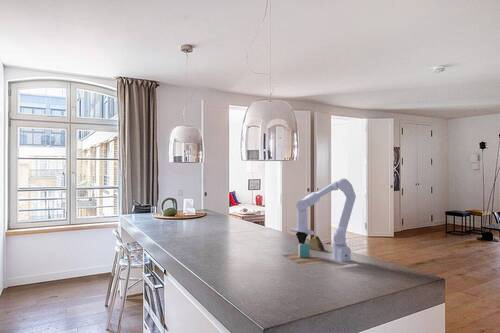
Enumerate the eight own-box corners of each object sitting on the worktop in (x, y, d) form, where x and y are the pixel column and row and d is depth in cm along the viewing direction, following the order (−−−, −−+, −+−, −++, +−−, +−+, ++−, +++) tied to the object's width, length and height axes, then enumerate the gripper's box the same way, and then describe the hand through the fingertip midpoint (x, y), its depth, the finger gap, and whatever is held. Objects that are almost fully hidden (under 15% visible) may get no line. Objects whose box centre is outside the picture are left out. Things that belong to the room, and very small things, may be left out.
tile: (309, 256, 181) (309, 243, 181) (300, 257, 179) (300, 244, 179) (307, 255, 183) (307, 243, 183) (298, 256, 181) (298, 243, 181)
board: (328, 264, 170) (328, 262, 170) (301, 267, 164) (301, 265, 164) (305, 254, 191) (305, 252, 191) (280, 256, 185) (280, 254, 185)
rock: (301, 246, 201) (310, 247, 192) (307, 234, 204) (316, 234, 195) (314, 255, 204) (323, 257, 195) (320, 243, 207) (329, 245, 198)
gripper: (317, 222, 181) (317, 247, 181) (295, 219, 191) (295, 242, 191) (309, 223, 176) (309, 249, 176) (288, 220, 186) (288, 244, 186)
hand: (301, 246), depth 183 cm, fingers closed
